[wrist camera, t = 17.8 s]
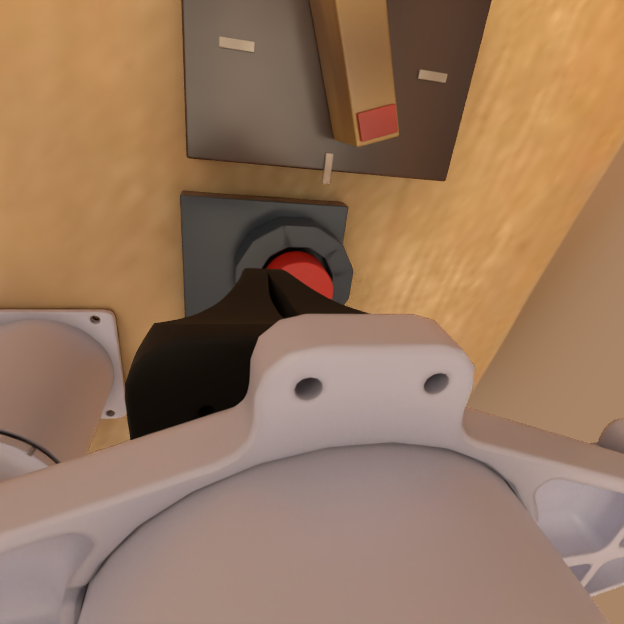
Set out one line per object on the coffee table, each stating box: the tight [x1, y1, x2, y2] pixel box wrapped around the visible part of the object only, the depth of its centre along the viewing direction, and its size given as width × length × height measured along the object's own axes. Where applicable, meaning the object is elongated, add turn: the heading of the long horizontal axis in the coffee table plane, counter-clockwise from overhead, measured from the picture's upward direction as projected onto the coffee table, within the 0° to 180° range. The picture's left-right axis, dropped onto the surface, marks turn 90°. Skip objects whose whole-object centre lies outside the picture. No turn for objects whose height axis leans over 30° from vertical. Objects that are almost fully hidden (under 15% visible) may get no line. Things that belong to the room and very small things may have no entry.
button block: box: [180, 191, 353, 317], centre depth 22 cm, size 9×8×3 cm
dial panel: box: [181, 0, 492, 184], centre depth 18 cm, size 13×10×3 cm
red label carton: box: [310, 0, 399, 147], centre depth 15 cm, size 6×2×4 cm, turn 13°
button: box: [266, 251, 333, 300], centre depth 21 cm, size 4×4×2 cm
